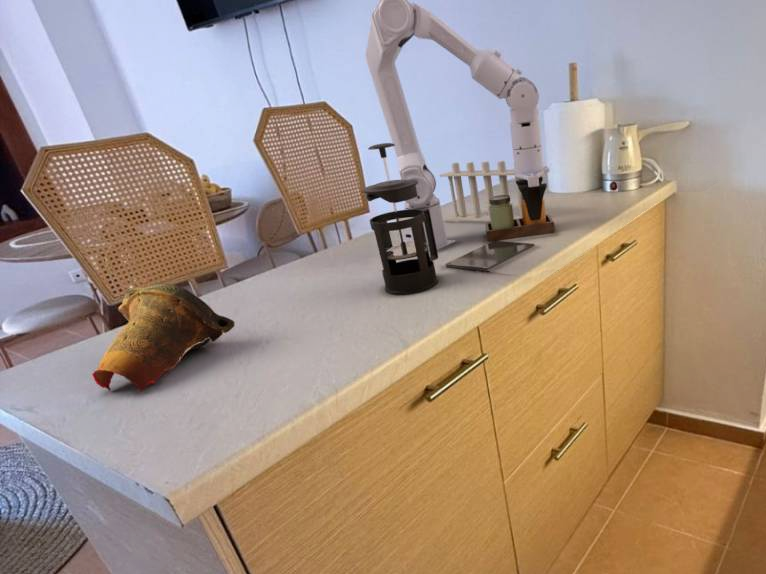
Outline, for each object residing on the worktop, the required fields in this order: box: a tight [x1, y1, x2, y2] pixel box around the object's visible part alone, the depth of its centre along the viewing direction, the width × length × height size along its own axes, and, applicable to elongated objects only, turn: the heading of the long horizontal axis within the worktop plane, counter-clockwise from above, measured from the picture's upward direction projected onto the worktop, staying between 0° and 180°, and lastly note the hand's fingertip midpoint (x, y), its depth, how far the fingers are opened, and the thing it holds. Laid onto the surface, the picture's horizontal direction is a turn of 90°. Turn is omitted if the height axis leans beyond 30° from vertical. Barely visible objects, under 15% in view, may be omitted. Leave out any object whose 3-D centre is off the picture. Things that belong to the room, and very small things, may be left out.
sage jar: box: [488, 194, 515, 230], centre depth 115 cm, size 5×5×8 cm
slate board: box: [445, 240, 535, 273], centre depth 105 cm, size 15×10×1 cm, turn 144°
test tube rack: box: [439, 160, 523, 223], centre depth 129 cm, size 25×4×13 cm, turn 57°
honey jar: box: [521, 194, 547, 226], centre depth 115 cm, size 5×5×8 cm
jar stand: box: [484, 213, 556, 243], centre depth 117 cm, size 14×7×3 cm, turn 94°
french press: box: [361, 142, 439, 296], centre depth 91 cm, size 12×9×23 cm
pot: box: [92, 283, 236, 393], centre depth 77 cm, size 17×11×18 cm
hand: (534, 216), depth 116 cm, fingers closed on honey jar, 5 cm apart
